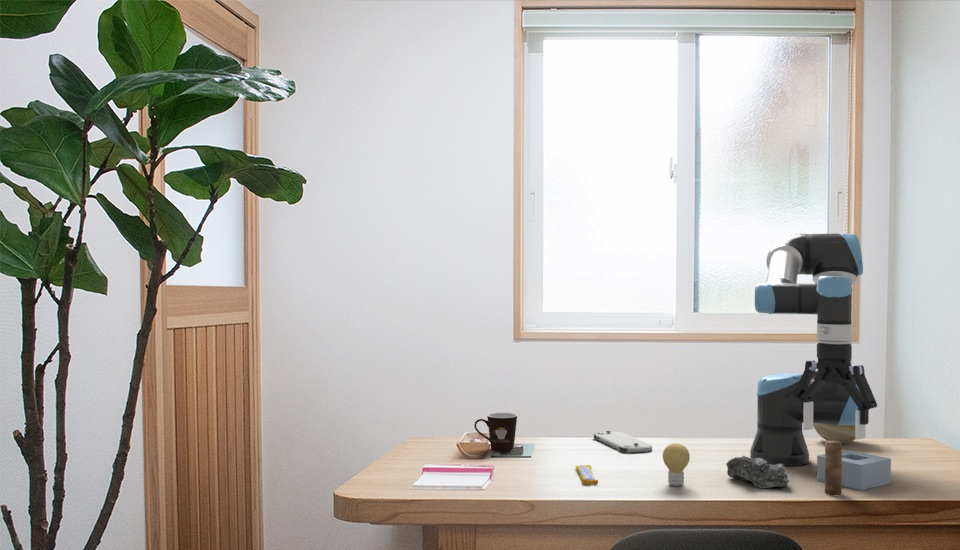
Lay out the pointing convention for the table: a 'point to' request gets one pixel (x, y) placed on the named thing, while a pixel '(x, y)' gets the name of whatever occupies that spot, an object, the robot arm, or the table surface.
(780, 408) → the robot arm
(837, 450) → the peg
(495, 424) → the coffee mug
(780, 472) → the rock
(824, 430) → the decorative ball
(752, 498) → the table surface
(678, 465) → the light bulb
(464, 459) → the table surface
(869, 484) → the socket
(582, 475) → the candy bar
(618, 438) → the handheld gaming console
